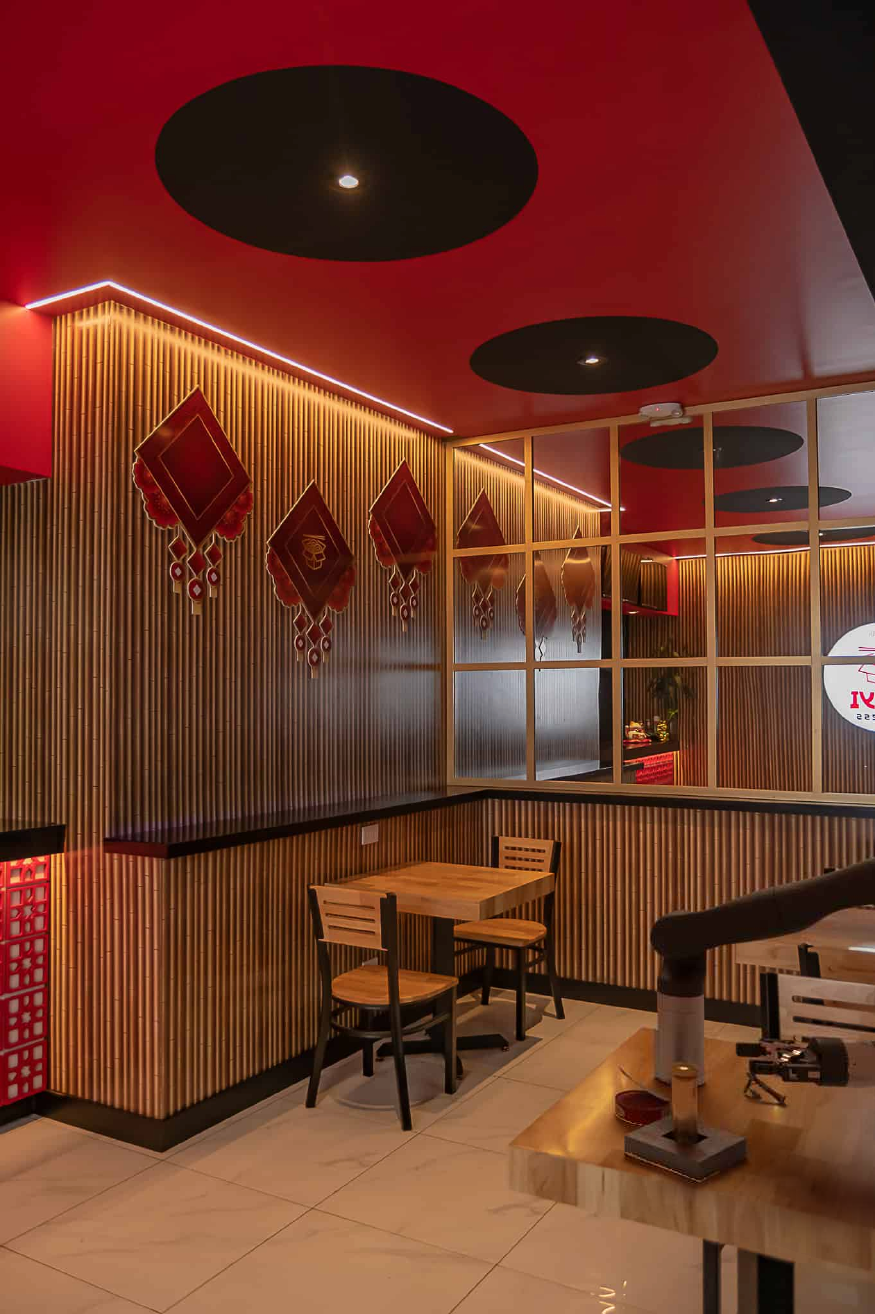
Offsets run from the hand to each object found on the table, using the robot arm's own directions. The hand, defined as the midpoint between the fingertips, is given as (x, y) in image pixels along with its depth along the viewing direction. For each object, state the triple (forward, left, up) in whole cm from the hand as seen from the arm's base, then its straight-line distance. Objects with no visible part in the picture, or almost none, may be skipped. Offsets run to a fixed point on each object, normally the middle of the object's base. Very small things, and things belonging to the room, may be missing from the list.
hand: (742, 1057), depth 158 cm
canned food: (-22, +3, -16) cm, 27 cm away
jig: (-7, -7, -16) cm, 18 cm away
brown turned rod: (-11, +27, -16) cm, 33 cm away
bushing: (-7, -7, -16) cm, 18 cm away
